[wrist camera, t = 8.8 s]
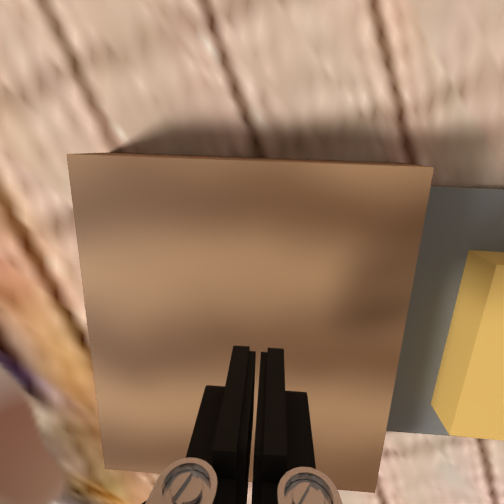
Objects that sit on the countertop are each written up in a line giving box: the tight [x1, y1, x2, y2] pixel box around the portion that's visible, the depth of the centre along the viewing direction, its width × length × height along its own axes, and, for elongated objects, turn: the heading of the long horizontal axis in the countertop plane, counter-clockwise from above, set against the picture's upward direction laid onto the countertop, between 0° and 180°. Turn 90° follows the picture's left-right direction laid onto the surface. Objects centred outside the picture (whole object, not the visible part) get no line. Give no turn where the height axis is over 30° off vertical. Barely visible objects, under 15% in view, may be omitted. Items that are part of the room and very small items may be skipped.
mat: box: [386, 186, 504, 437], centre depth 18 cm, size 14×11×1 cm
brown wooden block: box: [67, 153, 434, 493], centre depth 17 cm, size 16×14×4 cm
